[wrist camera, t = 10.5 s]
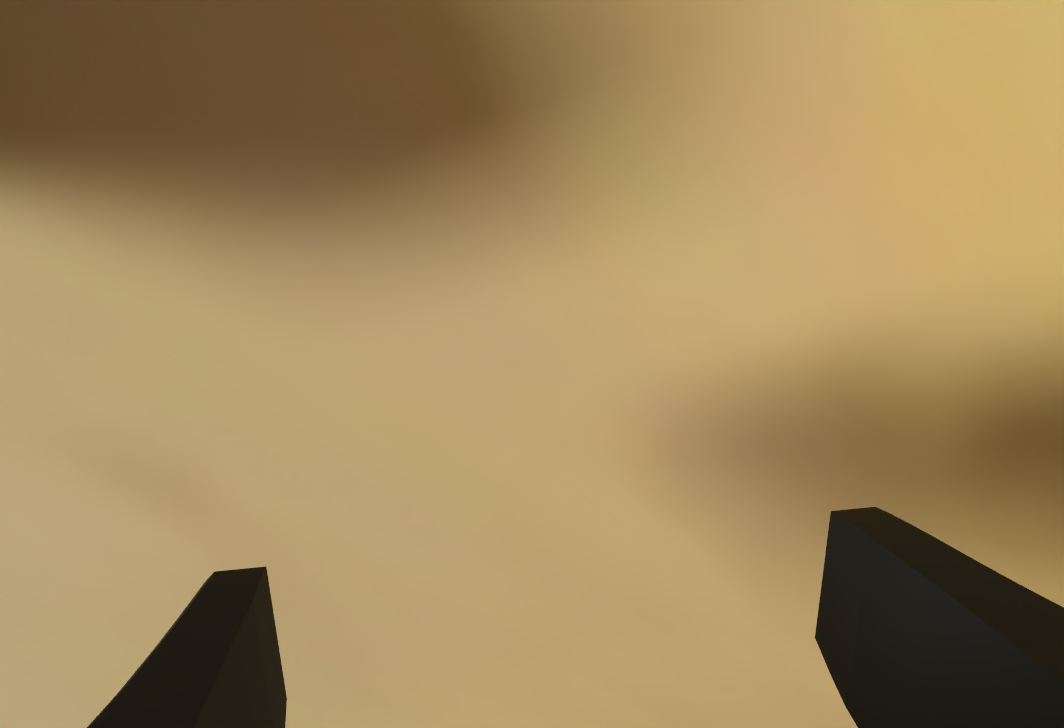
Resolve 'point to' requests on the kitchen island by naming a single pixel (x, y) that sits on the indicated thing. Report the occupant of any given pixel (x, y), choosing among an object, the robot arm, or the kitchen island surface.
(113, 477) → the kitchen island surface
